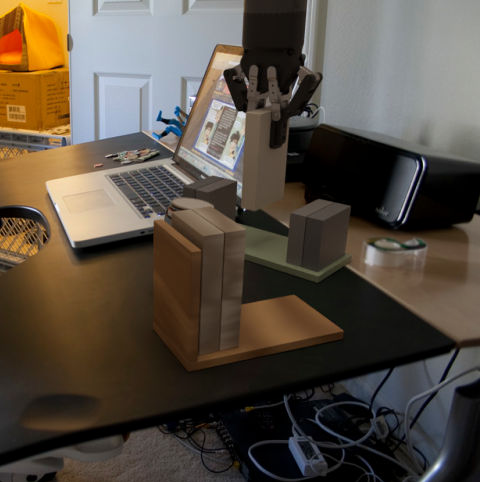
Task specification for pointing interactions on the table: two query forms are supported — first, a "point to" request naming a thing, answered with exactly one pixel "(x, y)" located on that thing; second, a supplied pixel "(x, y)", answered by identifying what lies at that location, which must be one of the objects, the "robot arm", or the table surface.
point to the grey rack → (299, 238)
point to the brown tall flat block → (262, 162)
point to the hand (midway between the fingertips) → (266, 145)
